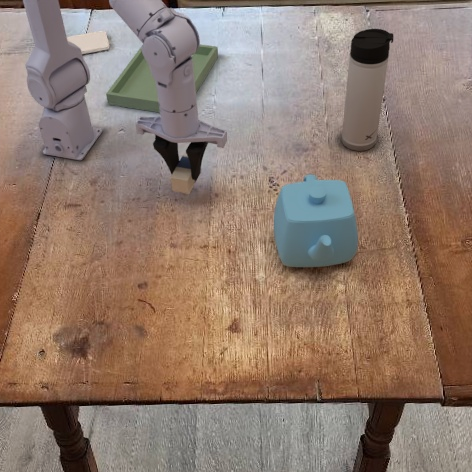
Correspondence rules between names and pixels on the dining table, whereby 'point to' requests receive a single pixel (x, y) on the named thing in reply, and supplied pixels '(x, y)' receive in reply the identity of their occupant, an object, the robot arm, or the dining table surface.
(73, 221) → the dining table surface
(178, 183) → the eraser
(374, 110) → the travel mug
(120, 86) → the tray
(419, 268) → the dining table surface
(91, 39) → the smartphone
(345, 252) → the teapot
